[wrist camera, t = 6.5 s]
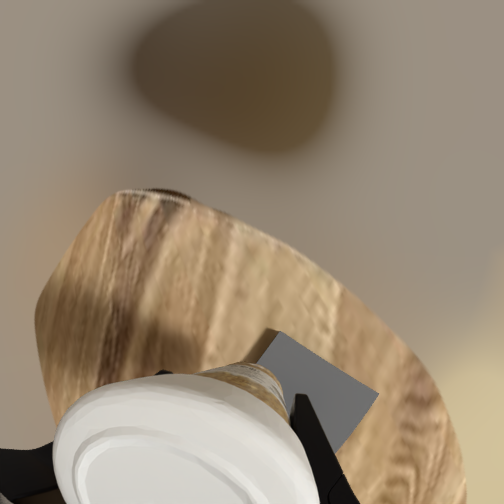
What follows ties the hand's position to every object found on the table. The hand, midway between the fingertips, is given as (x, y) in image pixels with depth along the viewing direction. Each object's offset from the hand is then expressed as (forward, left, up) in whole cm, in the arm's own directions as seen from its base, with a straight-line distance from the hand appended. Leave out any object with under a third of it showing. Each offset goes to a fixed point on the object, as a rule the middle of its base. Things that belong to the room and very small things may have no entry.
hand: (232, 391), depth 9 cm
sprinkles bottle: (-1, -1, -7) cm, 7 cm away
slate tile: (0, -5, -13) cm, 14 cm away
